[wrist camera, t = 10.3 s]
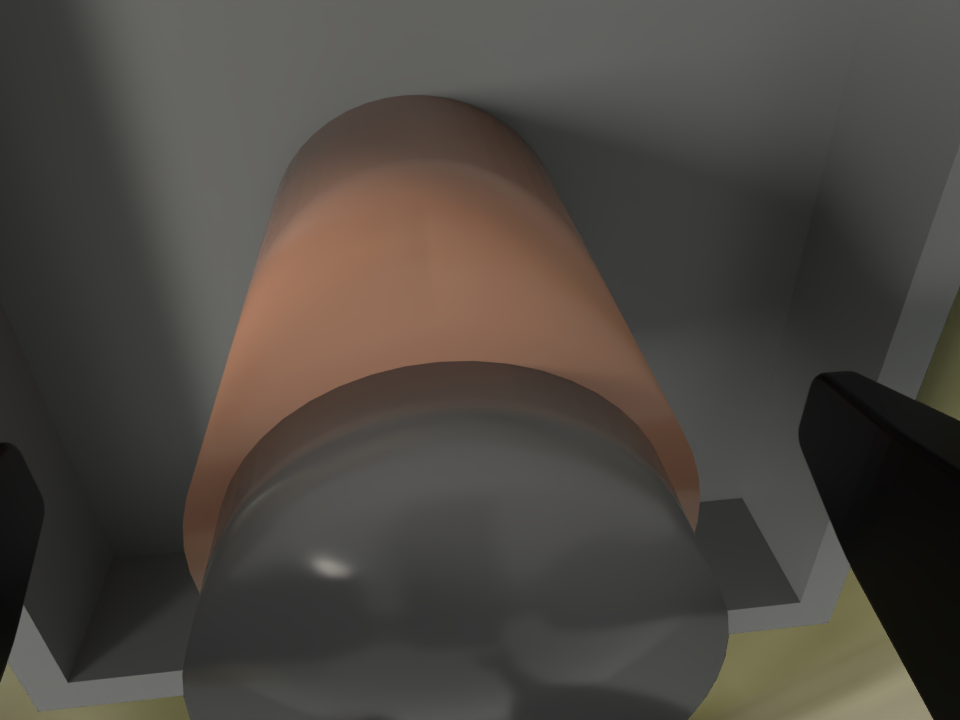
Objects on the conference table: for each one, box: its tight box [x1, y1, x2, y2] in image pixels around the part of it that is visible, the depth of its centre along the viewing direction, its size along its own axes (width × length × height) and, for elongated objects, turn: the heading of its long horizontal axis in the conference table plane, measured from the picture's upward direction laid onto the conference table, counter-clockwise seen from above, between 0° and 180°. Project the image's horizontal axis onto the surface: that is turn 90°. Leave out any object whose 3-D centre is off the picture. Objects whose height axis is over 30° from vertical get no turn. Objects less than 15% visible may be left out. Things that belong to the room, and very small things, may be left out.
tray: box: [0, 0, 960, 711], centre depth 12 cm, size 16×16×4 cm
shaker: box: [182, 95, 729, 720], centre depth 10 cm, size 5×5×8 cm
